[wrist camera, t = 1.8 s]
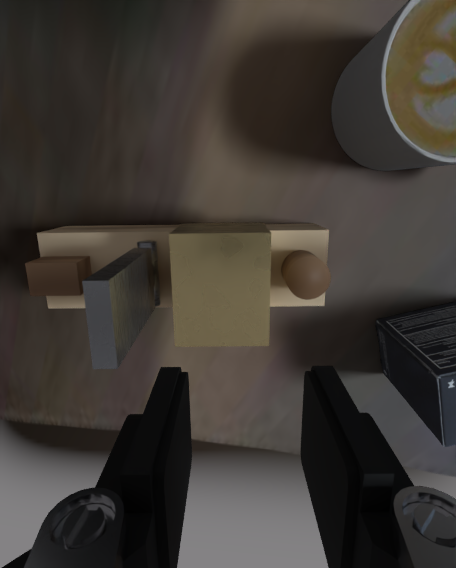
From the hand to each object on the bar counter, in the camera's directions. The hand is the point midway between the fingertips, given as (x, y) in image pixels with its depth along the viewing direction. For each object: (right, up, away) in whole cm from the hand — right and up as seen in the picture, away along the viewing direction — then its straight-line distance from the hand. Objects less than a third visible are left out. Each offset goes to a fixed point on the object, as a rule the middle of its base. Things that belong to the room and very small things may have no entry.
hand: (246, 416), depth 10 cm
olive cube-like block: (-1, +5, +18) cm, 18 cm away
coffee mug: (+14, +17, +20) cm, 29 cm away
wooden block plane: (-4, +6, +22) cm, 24 cm away
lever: (-6, +4, +17) cm, 18 cm away
